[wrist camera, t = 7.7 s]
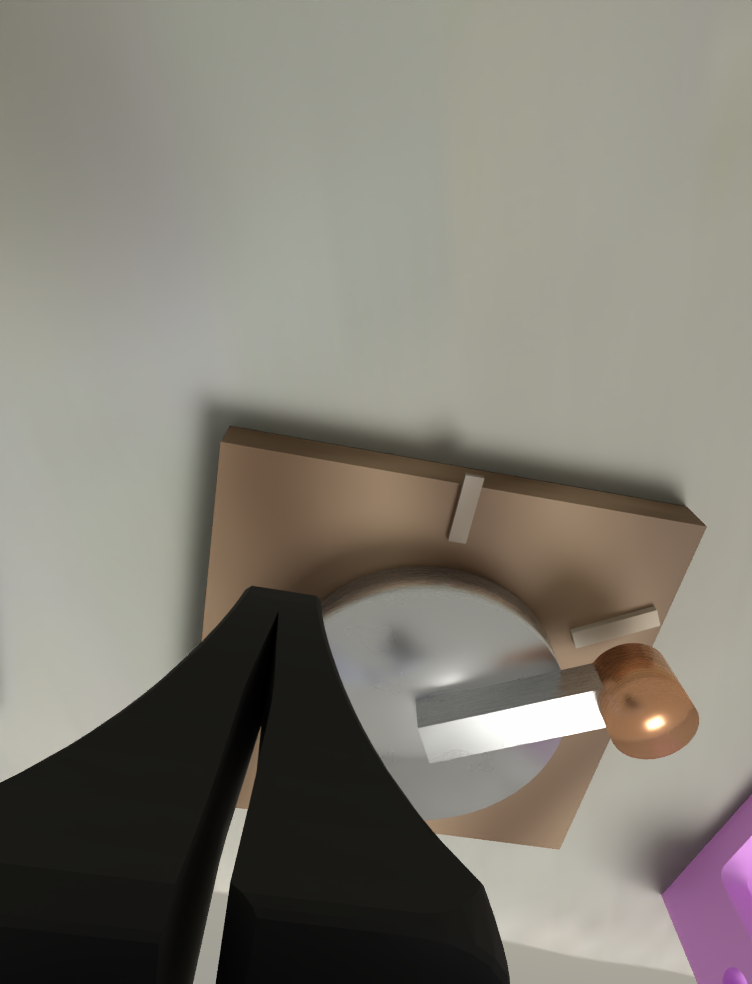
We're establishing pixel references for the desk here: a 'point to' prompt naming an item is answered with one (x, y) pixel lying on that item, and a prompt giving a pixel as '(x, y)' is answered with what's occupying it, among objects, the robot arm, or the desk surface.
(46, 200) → the desk surface
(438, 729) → the dial
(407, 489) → the dial plate
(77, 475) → the desk surface
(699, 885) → the bracket
